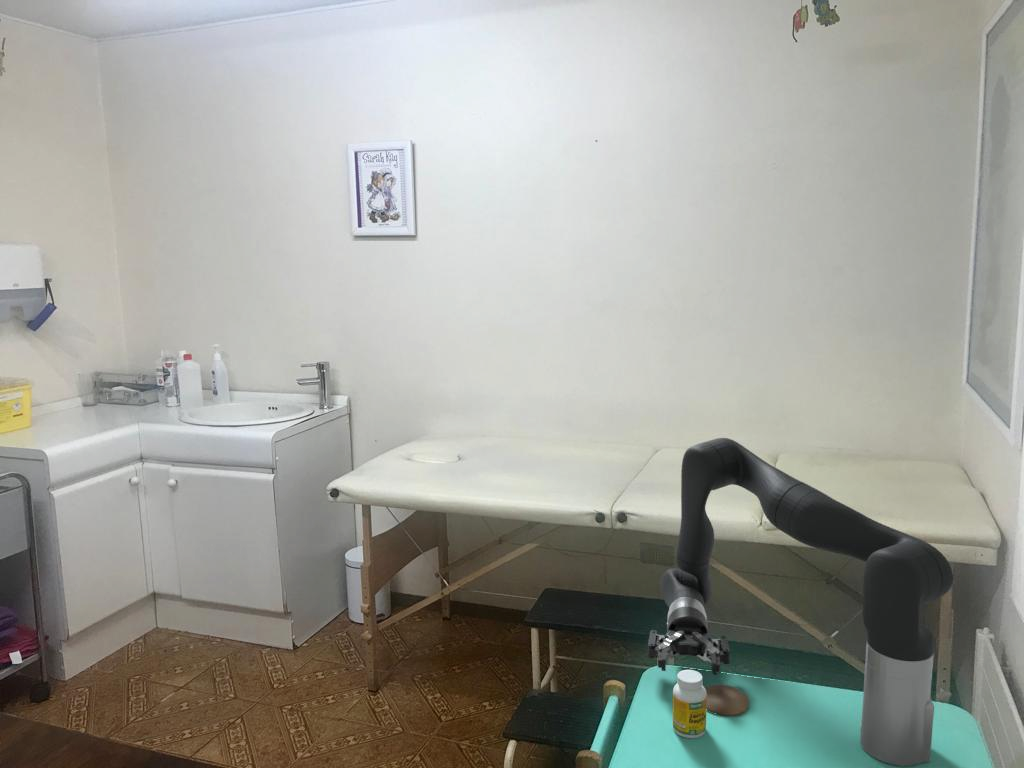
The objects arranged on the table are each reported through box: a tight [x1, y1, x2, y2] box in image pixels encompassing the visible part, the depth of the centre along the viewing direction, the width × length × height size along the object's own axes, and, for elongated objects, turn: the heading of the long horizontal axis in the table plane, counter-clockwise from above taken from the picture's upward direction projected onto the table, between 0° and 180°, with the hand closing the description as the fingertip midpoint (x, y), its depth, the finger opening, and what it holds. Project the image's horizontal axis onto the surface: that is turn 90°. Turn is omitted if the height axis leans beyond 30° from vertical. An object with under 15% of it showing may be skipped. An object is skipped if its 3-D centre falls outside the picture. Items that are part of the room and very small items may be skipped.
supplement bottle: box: [672, 669, 707, 739], centre depth 132 cm, size 5×5×10 cm
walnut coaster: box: [704, 684, 750, 717], centre depth 140 cm, size 8×8×1 cm
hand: (688, 668), depth 140 cm, fingers open, 8 cm apart
